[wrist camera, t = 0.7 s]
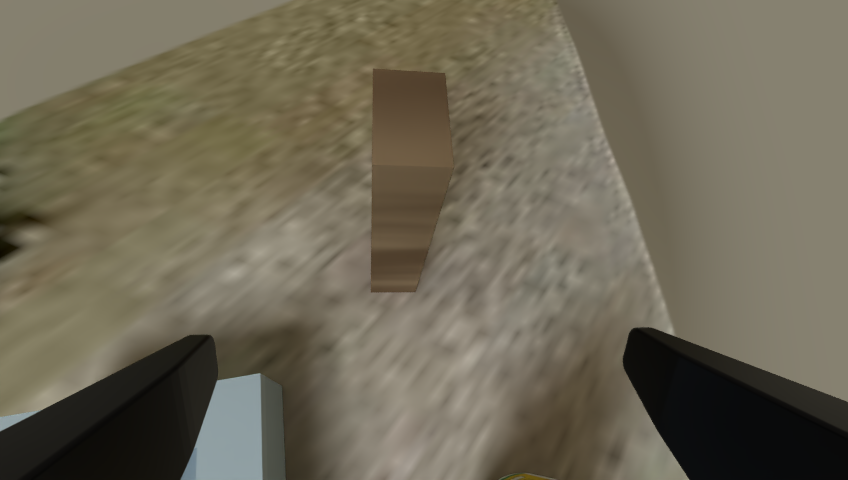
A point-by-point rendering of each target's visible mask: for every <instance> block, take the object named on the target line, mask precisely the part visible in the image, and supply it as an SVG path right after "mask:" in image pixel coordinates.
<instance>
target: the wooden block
mask: <svg viewBox="0 0 848 480" xmlns="http://www.w3.org/2000/svg"><path fill="white" fill-rule="evenodd" d="M453 169H454V161H453V151H452V141H451V130H450V120H449V109H448V99H447V89H446V78H445V73H433V72H417V71H401V70H385V69H373V130H372V234H371V292H415V291H416V288H417V285H418V281H419V278H420V275H421V272H422V269H423V265H424V262H425V259H426V256H427V253H428V249H429V246H430V243H431V240H432V237H433V233H434V230H435V227H436V224H437V221H438V217H439V214H440V211H441V208H442V204H443V201H444V198H445V195H446V192H447V188H448V185H449V182H450V179H451V176H452V172H453Z"/></svg>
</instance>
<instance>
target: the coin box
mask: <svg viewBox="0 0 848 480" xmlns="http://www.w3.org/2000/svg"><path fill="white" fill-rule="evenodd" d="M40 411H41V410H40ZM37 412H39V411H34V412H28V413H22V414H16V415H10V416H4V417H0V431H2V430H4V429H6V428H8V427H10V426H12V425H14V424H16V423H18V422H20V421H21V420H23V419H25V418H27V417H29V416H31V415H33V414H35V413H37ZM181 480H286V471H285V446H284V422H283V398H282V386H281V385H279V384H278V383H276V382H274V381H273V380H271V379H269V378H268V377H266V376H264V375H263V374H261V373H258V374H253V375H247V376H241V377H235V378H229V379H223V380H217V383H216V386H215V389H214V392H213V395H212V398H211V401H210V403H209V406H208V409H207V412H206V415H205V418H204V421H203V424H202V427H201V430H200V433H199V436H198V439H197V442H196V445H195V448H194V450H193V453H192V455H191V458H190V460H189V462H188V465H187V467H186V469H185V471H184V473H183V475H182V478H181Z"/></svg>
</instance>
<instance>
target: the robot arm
mask: <svg viewBox="0 0 848 480" xmlns="http://www.w3.org/2000/svg"><path fill="white" fill-rule="evenodd" d="M623 366H624V369H625V372H626V374H627V375H628V377H629V379H630V381H631V383H632V385H633V387H634V388H635V390H636V392H637V394H638V396H639V398H640V400H641V401H642V403H643V405H644V407H645V409H646V411H647V413H648V415H649V416H650V418H651V420H652V422H653V424H654V425H655V427H656V429H657V431H658V432H659V434H660V435H661V437H662V439H663V440H664V442H665V443H666V445H667V446H668V448H669V449H670V451H671V452H672V454H673V455H674V457H675V458H676V460H677V461H678V463H679V464H680V466H681V467H682V469H683V471H684V472H685V474H686V475H687V477H688V478H689V480H848V402H846V401H844V400H841V399H839V398H836V397H833V396H831V395H828V394H825V393H823V392H820V391H817V390H815V389H812V388H809V387H807V386H804V385H802V384H799V383H796V382H794V381H791V380H788V379H786V378H783V377H780V376H778V375H775V374H772V373H770V372H767V371H765V370H762V369H759V368H756V367H754V366H751V365H749V364H746V363H744V362H741V361H738V360H736V359H733V358H730V357H728V356H725V355H722V354H720V353H717V352H714V351H712V350H709V349H707V348H704V347H701V346H699V345H696V344H693V343H691V342H688V341H685V340H683V339H680V338H677V337H675V336H672V335H670V334H667V333H664V332H662V331H659V330H656V329H654V328H649V327H641V328H633V329H632V330H631V331H630V333H629V336H628V340H627V344H626V348H625V352H624V356H623ZM217 378H218V365H217V358H216V350H215V343H214V339H213V337H212V336H211V335H189V336H187V337H185V338H183V339H181V340H179V341H177V342H175V343H173V344H171V345H169V346H167V347H165V348H163V349H161V350H159V351H157V352H155V353H153V354H151V355H149V356H147V357H145V358H143V359H141V360H139V361H137V362H135V363H133V364H131V365H130V366H128V367H126V368H124V369H122V370H120V371H118V372H116V373H114V374H112V375H110V376H108V377H106V378H104V379H102V380H100V381H98V382H96V383H94V384H92V385H90V386H88V387H86V388H84V389H82V390H80V391H78V392H76V393H75V394H73V395H71V396H69V397H67V398H65V399H63V400H61V401H59V402H57V403H55V404H53V405H51V406H49V407H47V408H45V409H43V410H41V411H39V412H37V413H35V414H33V415H31V416H29V417H27V418H25V419H23V420H21V421H20V422H18V423H16V424H14V425H12V426H10V427H8V428H6V429H4V430H2V431H0V480H181V478H182V475H183V473H184V471H185V469H186V467H187V465H188V462H189V460H190V458H191V455H192V453H193V450H194V448H195V445H196V442H197V439H198V436H199V433H200V430H201V427H202V424H203V421H204V418H205V415H206V412H207V409H208V406H209V403H210V401H211V398H212V395H213V392H214V389H215V386H216V383H217Z"/></svg>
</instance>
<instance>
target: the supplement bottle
mask: <svg viewBox="0 0 848 480" xmlns="http://www.w3.org/2000/svg"><path fill="white" fill-rule="evenodd" d="M499 480H557V479H553V478H549V477H544V476H540V475H535V474H530V473H515V474H510V475H506V476H504V477H502V478H500V479H499Z"/></svg>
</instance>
